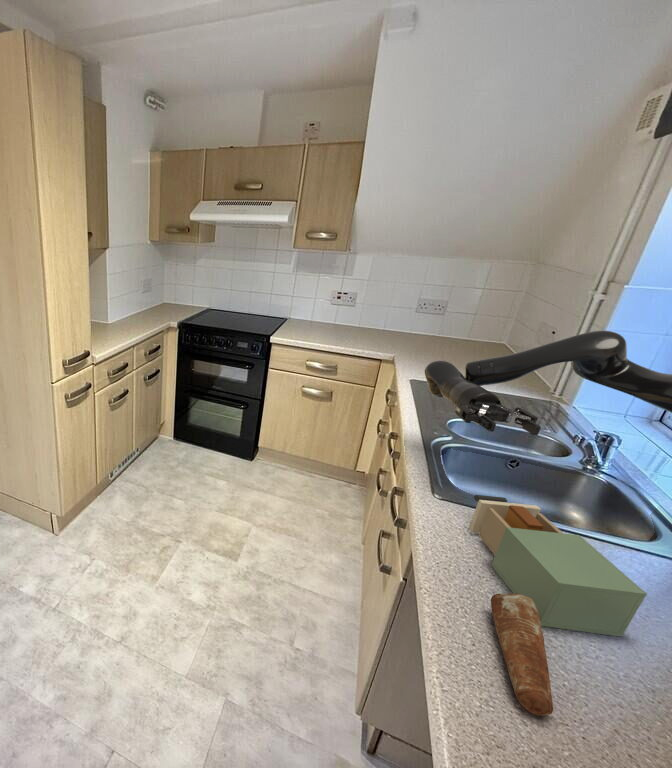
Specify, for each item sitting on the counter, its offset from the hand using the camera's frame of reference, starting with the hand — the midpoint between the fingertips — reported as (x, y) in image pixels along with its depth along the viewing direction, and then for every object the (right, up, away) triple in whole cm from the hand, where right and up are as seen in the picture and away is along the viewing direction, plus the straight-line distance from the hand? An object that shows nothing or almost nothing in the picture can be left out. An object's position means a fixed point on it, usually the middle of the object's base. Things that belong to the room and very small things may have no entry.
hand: (515, 429), depth 88 cm
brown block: (-3, -24, -3) cm, 24 cm away
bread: (-19, -34, -24) cm, 46 cm away
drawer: (-2, -24, 0) cm, 24 cm away
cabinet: (-4, -30, -12) cm, 32 cm away
